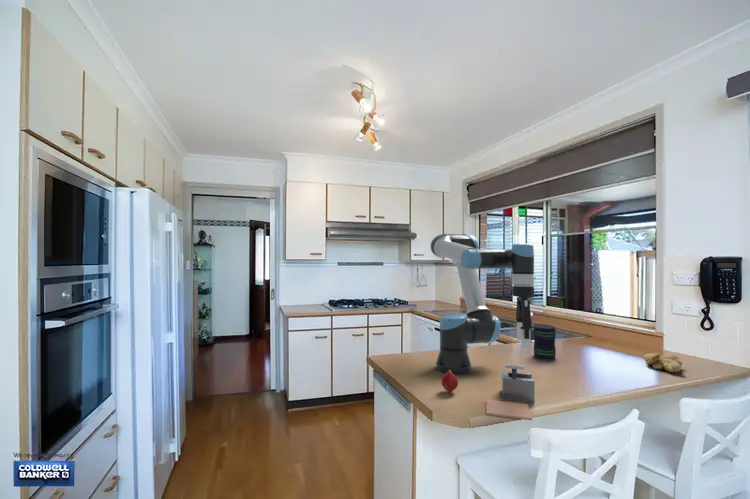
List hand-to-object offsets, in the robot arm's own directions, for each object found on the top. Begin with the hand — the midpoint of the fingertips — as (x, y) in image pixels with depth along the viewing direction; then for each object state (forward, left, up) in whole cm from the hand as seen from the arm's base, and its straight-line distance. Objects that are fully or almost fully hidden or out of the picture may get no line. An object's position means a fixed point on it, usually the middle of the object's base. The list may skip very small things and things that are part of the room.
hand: (523, 343), depth 134 cm
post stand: (-4, -7, -17) cm, 19 cm away
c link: (-3, -7, -17) cm, 18 cm away
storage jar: (+14, +51, -17) cm, 56 cm away
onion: (-26, -11, -17) cm, 33 cm away
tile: (-7, -21, -17) cm, 28 cm away
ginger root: (+61, +47, -17) cm, 79 cm away
